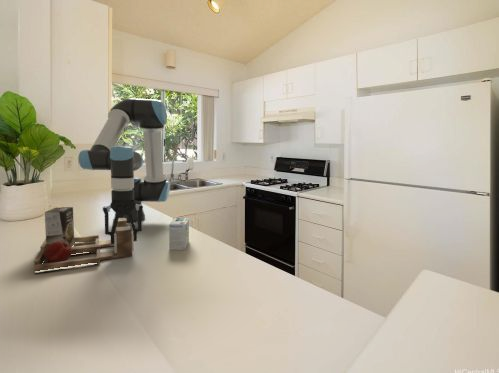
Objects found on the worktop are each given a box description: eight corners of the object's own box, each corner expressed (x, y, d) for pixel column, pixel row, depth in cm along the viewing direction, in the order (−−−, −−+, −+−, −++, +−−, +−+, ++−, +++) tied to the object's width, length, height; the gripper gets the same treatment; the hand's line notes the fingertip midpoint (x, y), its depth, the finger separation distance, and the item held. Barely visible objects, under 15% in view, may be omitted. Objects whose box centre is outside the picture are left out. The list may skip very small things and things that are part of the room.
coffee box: (65, 254, 103) (63, 211, 101) (46, 255, 101) (43, 211, 99) (75, 246, 112) (73, 206, 110) (57, 246, 110) (55, 206, 108)
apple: (63, 268, 91) (62, 245, 90) (38, 268, 91) (36, 244, 90) (75, 259, 99) (74, 237, 97) (52, 259, 98) (51, 237, 97)
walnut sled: (34, 273, 86) (31, 242, 85) (42, 258, 98) (40, 230, 97) (133, 259, 99) (132, 232, 98) (130, 247, 111) (129, 223, 110)
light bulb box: (173, 241, 122) (173, 217, 120) (189, 241, 122) (189, 217, 121) (168, 250, 111) (168, 223, 110) (185, 250, 112) (186, 224, 110)
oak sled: (40, 257, 98) (38, 230, 97) (47, 245, 110) (45, 221, 109) (128, 247, 111) (127, 223, 110) (125, 237, 123) (125, 215, 122)
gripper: (147, 187, 108) (148, 244, 111) (94, 188, 100) (96, 250, 103) (150, 189, 102) (151, 250, 105) (94, 191, 93) (96, 257, 96)
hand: (124, 250), depth 104 cm, fingers closed on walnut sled, 5 cm apart
